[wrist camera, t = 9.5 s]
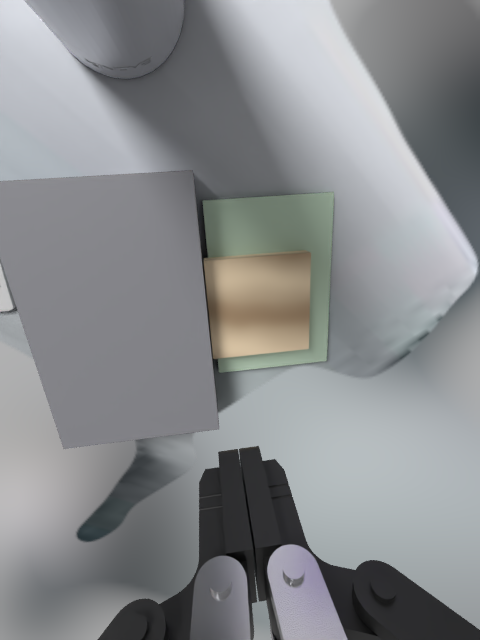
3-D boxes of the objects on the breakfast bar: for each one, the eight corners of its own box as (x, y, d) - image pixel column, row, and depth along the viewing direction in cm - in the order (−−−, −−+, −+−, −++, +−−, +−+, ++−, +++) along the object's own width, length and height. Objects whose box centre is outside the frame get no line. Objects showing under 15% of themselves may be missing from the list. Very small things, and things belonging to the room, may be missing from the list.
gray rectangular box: (9, 185, 24) (-25, 182, 21) (193, 174, 26) (192, 170, 22) (79, 420, 32) (63, 448, 29) (217, 403, 34) (219, 429, 30)
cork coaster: (203, 258, 27) (203, 261, 26) (305, 250, 28) (311, 252, 27) (212, 351, 31) (213, 359, 29) (304, 342, 31) (308, 348, 30)
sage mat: (202, 200, 26) (202, 200, 26) (331, 192, 27) (334, 191, 27) (218, 369, 32) (219, 372, 32) (324, 358, 33) (326, 360, 33)
